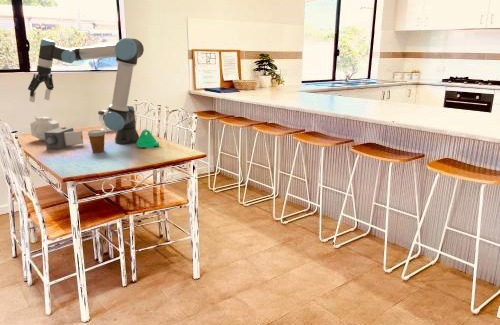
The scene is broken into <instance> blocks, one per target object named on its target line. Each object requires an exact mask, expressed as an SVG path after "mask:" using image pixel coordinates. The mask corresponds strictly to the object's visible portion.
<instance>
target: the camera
mask: <svg viewBox="0 0 500 325" xmlns="http://www.w3.org/2000/svg"><path fill="white" fill-rule="evenodd" d="M34 119H35V120H34V121H32V122H31V123H30V133H31V136H32V137H34V138H36V139H38V140H39V141H44V142H45V134H44V132H47V131H50V130H53V129H56V128H59V127H60V123H59V122H58V121H57V120H54V119H53V118H52V117H48V116H46V115H45V116H39V117H36V116H35V115H34Z"/></svg>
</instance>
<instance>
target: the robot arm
mask: <svg viewBox="0 0 500 325" xmlns="http://www.w3.org/2000/svg"><path fill="white" fill-rule="evenodd" d="M143 54H144V45H143V43H142V42H141V41H140V40H139V39H136V38H127V37H123V38H121V39H119V40H117V42H116V43H114V44H104V45H103V44H102V45H94V46H82V47H61V46H59V45H56V41H54V40H52V39H48V38H42V39H41V40H40V45H39V53H38V58H37V59H38V60H37V64H38V65H37V66H36V72H37V73H34V74H33V76H32V79H31V81H30V83H29V85H28V87H27V90H28V91H30V92H29V102H31V103H35V101H36V93H37V92H36V90H37V89H38V88H39V86H40V85H41V83H43V82H44V85H45V87H46V89H45V92H44V93H45V94H44V99H43V100H46V101H50V98H51V92H52V91H53V90H54V82H53V74H52V67H53V60H57V61H61V62H63V63H67V64H73V63H74V62H79V61H85V60H98V59H111V58H115V61H116V62H117V70H116V75H115V83H114V89H113V94H112V102H111V104H109V105H108V108H107V109H108V113H107V114H106V115H105V117H104V123H105V125H106V126H107V127H108V128H109V129H110V130H113V131H112V132H115V131H116V133H115V137H114V142H115V144H118V145H119V144H120V145H121V144H122V145H130V144H135V143H136V144H137V141H138V139H139V137H140V135H139V133H138V131H137V129H136V128H137V126H136V114H135V113H136V112H135V107H134V106H132V105H128V102H129V95H130V90H131V84H132V83H131V82H132V77H133V72H134V71H133V70H134V67H135V66H137V64H138V59H139V58H141V57H142V55H143Z"/></svg>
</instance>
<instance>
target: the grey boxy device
mask: <svg viewBox="0 0 500 325" xmlns="http://www.w3.org/2000/svg"><path fill="white" fill-rule="evenodd" d="M74 131H75V130H74V127H67V126H59V128H56V129H53V130H50V131H47V132H44V134H45V141H44V142H45V147H46V149H47V150H62V149H65V148H67V147H69V146H71V145H68V146H65V139H64V133H66V132H74Z"/></svg>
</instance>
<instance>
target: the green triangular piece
mask: <svg viewBox="0 0 500 325" xmlns="http://www.w3.org/2000/svg"><path fill="white" fill-rule="evenodd" d="M136 146H137V147H139V148H145V149H152V148H155V147H157V146H158V147H159V146H160V142H158V141H157V140H156V139H155V137H154V136H153V134H152V133H151V131H150V130H148V129H143V130H142V131H141V133H140V135H139V139H138V141H137V142H136Z"/></svg>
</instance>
